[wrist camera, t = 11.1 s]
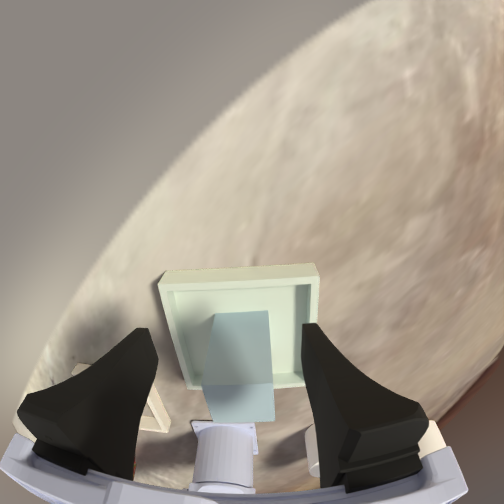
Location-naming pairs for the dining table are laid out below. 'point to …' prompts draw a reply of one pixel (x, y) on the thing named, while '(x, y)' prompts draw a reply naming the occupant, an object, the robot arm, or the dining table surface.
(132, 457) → the robot arm
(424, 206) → the dining table surface
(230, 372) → the block
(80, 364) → the holder
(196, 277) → the tray
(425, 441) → the beverage can
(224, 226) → the dining table surface
